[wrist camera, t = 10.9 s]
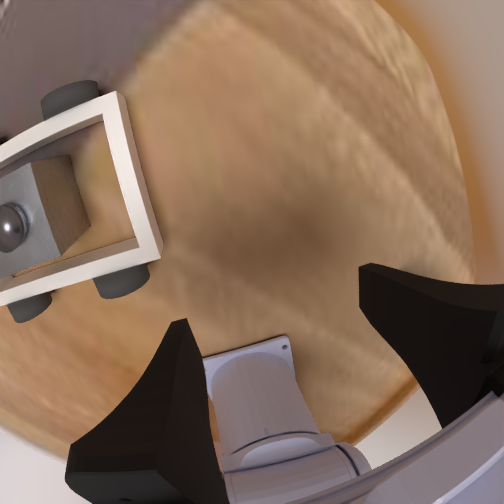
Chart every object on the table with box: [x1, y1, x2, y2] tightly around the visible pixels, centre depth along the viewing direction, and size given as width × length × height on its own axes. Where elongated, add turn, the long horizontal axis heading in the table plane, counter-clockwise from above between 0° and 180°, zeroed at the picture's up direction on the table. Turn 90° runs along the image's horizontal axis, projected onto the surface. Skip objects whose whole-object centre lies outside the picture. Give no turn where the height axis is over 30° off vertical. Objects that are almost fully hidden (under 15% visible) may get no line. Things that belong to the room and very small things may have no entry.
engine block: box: [0, 155, 91, 279], centre depth 13 cm, size 5×5×6 cm
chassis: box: [0, 80, 164, 323], centre depth 15 cm, size 12×14×4 cm
